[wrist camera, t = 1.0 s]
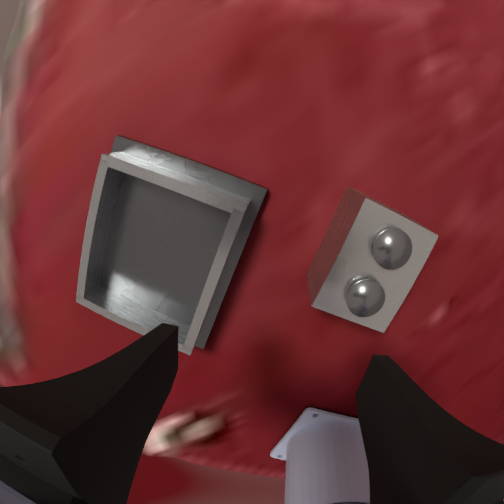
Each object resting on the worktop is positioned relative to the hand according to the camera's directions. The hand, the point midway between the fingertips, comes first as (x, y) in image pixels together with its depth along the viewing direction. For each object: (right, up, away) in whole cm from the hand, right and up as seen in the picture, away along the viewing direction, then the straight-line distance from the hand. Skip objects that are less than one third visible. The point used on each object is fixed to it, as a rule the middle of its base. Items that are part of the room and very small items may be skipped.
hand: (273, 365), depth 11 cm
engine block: (+6, +5, +8) cm, 11 cm away
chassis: (-7, +4, +9) cm, 12 cm away
